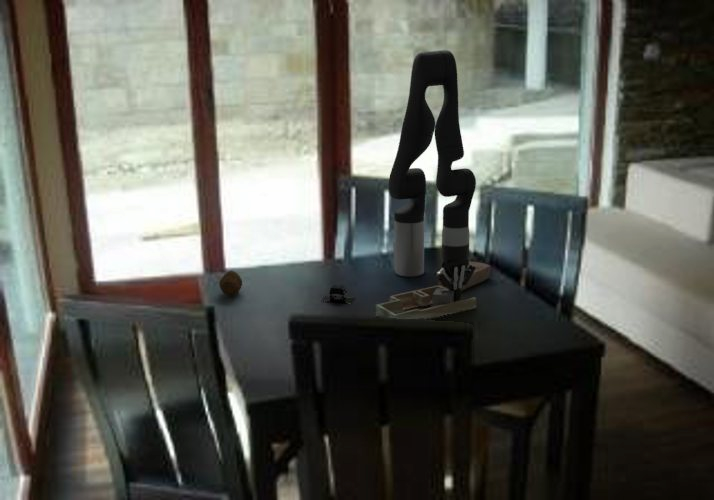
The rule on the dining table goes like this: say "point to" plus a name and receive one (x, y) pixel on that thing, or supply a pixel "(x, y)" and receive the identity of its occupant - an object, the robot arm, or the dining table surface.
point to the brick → (475, 275)
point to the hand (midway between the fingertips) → (455, 300)
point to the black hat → (338, 299)
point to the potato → (230, 283)
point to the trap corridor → (420, 299)
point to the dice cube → (442, 297)
